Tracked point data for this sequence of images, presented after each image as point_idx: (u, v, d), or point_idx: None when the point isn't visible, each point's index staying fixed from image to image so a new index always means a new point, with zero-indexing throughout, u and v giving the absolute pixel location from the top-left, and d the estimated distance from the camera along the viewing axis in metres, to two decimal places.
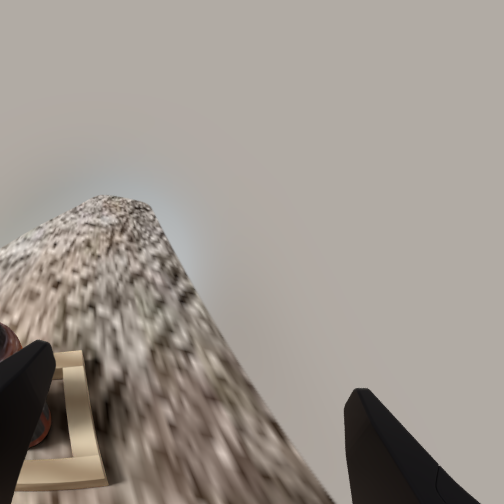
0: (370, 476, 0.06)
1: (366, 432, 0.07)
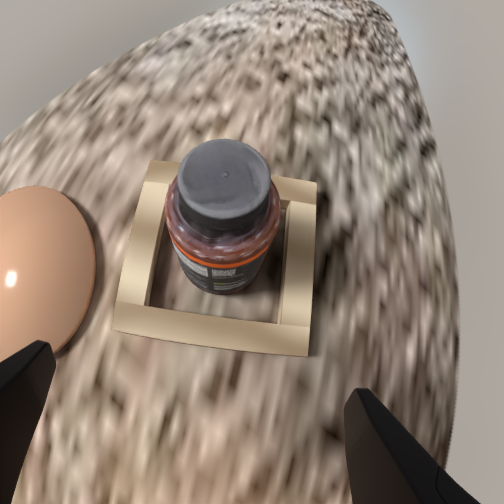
0: (370, 476, 0.06)
1: (366, 432, 0.07)
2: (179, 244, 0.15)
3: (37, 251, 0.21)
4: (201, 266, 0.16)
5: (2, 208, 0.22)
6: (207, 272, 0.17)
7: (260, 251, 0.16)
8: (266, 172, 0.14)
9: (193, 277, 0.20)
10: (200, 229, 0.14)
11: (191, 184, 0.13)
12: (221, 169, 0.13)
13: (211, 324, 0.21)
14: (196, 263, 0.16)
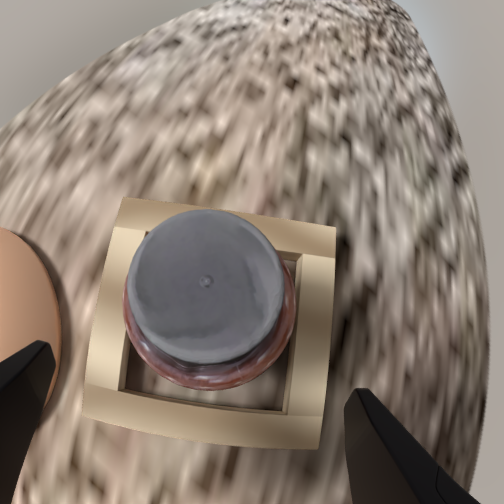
0: (370, 476, 0.06)
1: (366, 432, 0.07)
2: (146, 362, 0.10)
3: None
4: None
5: None
6: None
7: None
8: (277, 276, 0.08)
9: None
10: None
11: (149, 300, 0.08)
12: (201, 271, 0.08)
13: (201, 416, 0.15)
14: None
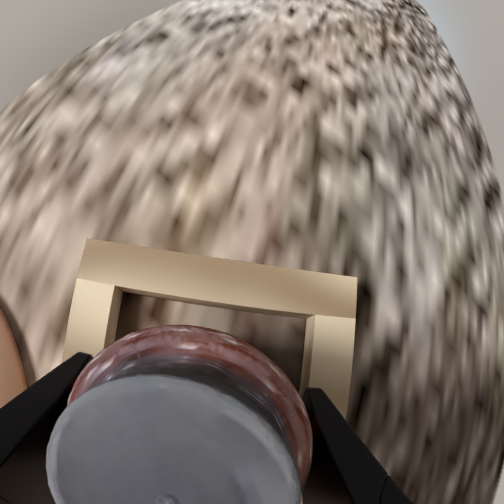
0: (316, 480, 0.06)
1: (313, 433, 0.07)
2: None
3: None
4: None
5: None
6: None
7: None
8: (289, 493, 0.04)
9: None
10: None
11: None
12: (156, 488, 0.03)
13: None
14: None
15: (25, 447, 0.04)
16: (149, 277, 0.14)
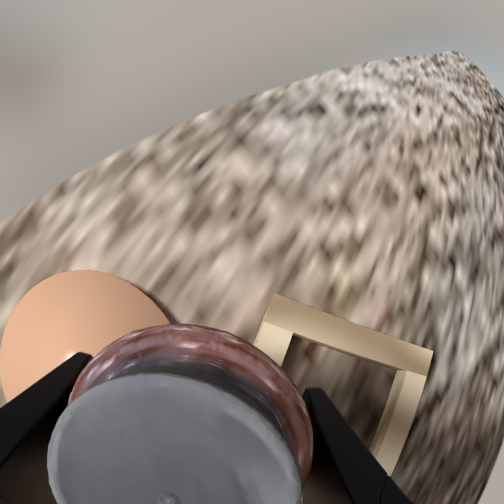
0: (316, 480, 0.06)
1: (313, 433, 0.07)
2: None
3: None
4: None
5: (68, 290, 0.20)
6: None
7: None
8: (290, 491, 0.04)
9: None
10: None
11: None
12: (157, 487, 0.03)
13: None
14: None
15: (25, 447, 0.04)
16: (318, 331, 0.21)
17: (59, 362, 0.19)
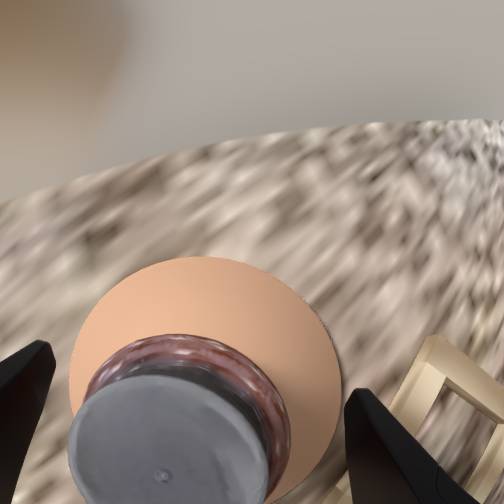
0: (370, 476, 0.06)
1: (366, 432, 0.07)
2: None
3: None
4: None
5: (207, 281, 0.17)
6: None
7: None
8: (258, 470, 0.05)
9: None
10: None
11: (97, 487, 0.04)
12: (155, 463, 0.05)
13: None
14: None
15: None
16: (463, 378, 0.17)
17: None
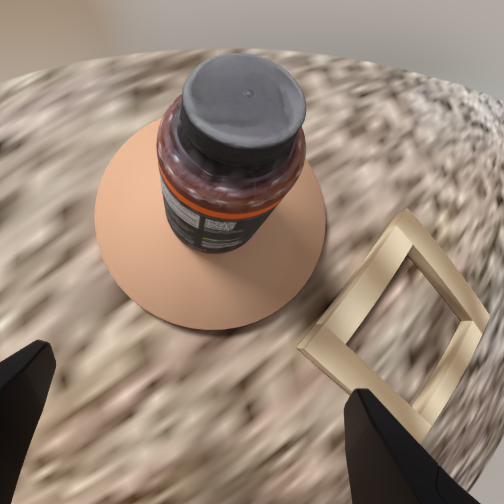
0: (370, 476, 0.06)
1: (366, 432, 0.07)
2: (169, 179, 0.11)
3: None
4: (193, 212, 0.12)
5: None
6: (199, 222, 0.13)
7: (272, 203, 0.12)
8: (301, 101, 0.10)
9: (178, 227, 0.16)
10: (201, 160, 0.10)
11: (201, 97, 0.09)
12: (244, 86, 0.09)
13: (383, 390, 0.19)
14: (187, 208, 0.12)
15: None
16: (428, 253, 0.22)
17: None
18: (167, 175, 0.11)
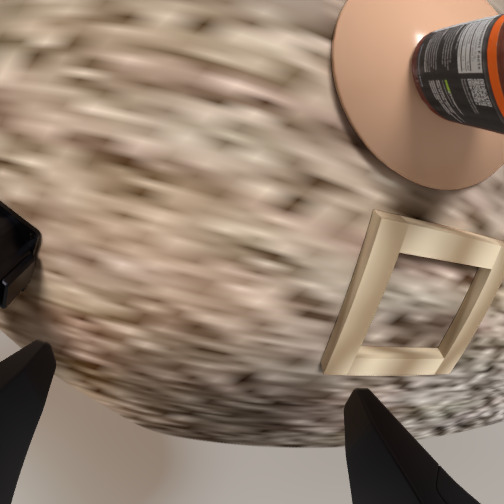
0: (370, 476, 0.06)
1: (366, 432, 0.07)
2: (502, 37, 0.07)
3: None
4: (481, 65, 0.08)
5: None
6: (470, 72, 0.09)
7: None
8: None
9: (435, 54, 0.12)
10: None
11: None
12: None
13: (369, 311, 0.21)
14: (483, 59, 0.08)
15: None
16: (488, 287, 0.21)
17: None
18: None
